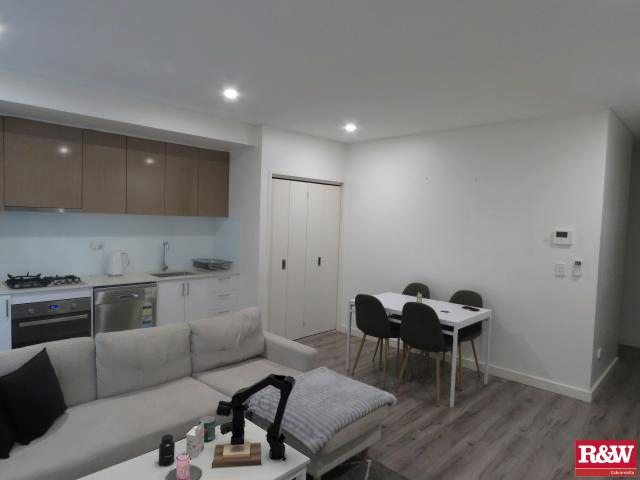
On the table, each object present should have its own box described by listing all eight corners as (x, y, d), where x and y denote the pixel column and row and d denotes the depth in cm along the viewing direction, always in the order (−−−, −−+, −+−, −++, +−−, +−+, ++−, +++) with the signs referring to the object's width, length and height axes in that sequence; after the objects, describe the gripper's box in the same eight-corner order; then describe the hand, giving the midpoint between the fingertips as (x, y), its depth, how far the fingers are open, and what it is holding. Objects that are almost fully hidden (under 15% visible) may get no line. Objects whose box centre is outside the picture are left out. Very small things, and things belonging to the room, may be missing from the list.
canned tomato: (195, 443, 204) (196, 421, 204) (203, 435, 212) (204, 414, 211) (210, 445, 202) (210, 423, 202) (217, 437, 210) (218, 416, 209)
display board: (215, 446, 201) (215, 440, 201) (260, 444, 205) (260, 438, 205) (211, 470, 182) (211, 463, 182) (261, 467, 186) (261, 460, 186)
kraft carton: (224, 454, 193) (224, 444, 193) (249, 452, 195) (250, 442, 195) (222, 465, 184) (222, 455, 184) (249, 464, 186) (249, 453, 186)
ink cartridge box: (194, 448, 199) (195, 419, 198) (204, 450, 198) (204, 420, 197) (185, 458, 191) (186, 427, 190) (195, 460, 190) (196, 429, 189)
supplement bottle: (167, 468, 183) (167, 442, 182) (155, 464, 185) (155, 438, 185) (177, 460, 189) (178, 434, 189) (165, 456, 192) (166, 431, 191)
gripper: (223, 408, 203) (222, 438, 204) (219, 428, 185) (218, 461, 186) (245, 407, 205) (244, 437, 206) (244, 427, 187) (243, 460, 188)
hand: (237, 448), depth 196 cm, fingers closed
